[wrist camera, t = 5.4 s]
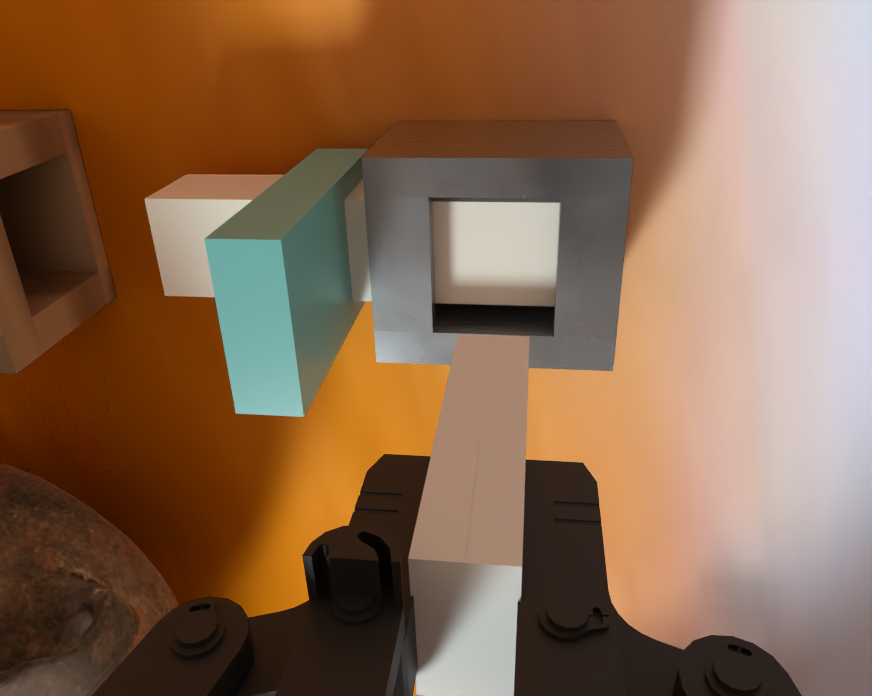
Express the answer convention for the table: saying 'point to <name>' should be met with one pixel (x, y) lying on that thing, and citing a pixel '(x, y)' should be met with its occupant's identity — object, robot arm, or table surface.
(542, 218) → the bolt
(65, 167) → the socket
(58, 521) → the jug
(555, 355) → the sleeve
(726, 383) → the table surface
